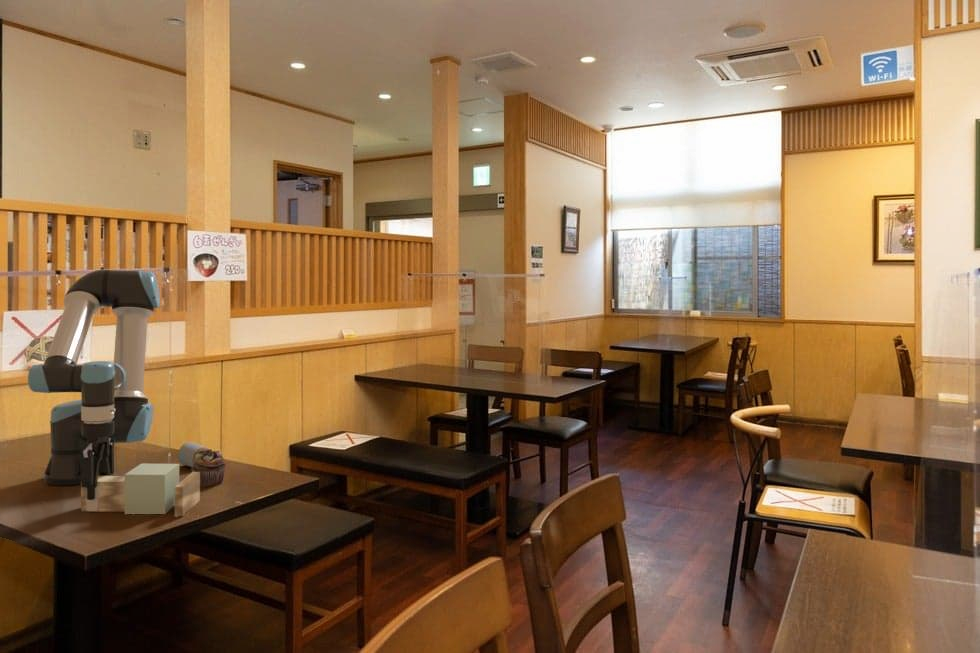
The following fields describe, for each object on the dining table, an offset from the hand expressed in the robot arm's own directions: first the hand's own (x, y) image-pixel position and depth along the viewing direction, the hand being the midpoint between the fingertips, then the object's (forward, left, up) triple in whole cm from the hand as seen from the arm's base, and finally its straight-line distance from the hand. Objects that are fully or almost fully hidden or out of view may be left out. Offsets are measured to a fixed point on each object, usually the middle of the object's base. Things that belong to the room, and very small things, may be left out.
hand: (98, 506), depth 176 cm
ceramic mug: (+13, +40, -1) cm, 42 cm away
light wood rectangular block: (+5, 0, 0) cm, 5 cm away
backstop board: (+23, 0, 0) cm, 23 cm away
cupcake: (+21, +22, -1) cm, 31 cm away
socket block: (+14, 0, 0) cm, 14 cm away
